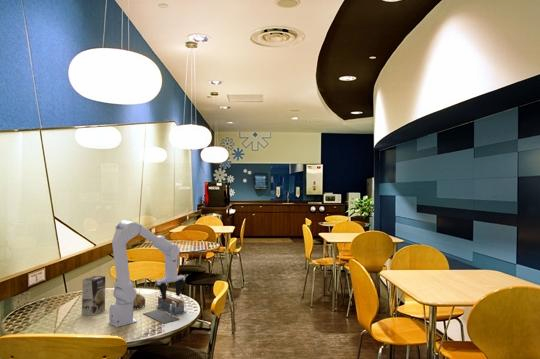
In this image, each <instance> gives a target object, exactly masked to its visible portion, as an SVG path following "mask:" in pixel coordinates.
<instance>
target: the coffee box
mask: <svg viewBox="0 0 540 359" xmlns="http://www.w3.org/2000/svg"><path fill="white" fill-rule="evenodd" d="M81 286H82V293H81V315H87V316H95V315H97V314H99V313H101V312H103V311H106V276H103V275H92V276H90V277H87V278H85V279H82V285H81Z"/></svg>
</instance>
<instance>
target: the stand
mask: <svg viewBox="0 0 540 359" xmlns="http://www.w3.org/2000/svg"><path fill="white" fill-rule="evenodd" d="M168 295H169V294H168ZM169 296H171V295H169ZM179 300H182V306H180V307H177V306H176V302H174V301H172V302H171V304H169V303H167V302H164V301H163V299H162V297H161V296H160V295H158V296H157V305H156V306H155V308H156V307H157V308H156V309H158V310H161V309H162V310H161V311H163V310H164V311H163V312H165V313H168V314H170V313H171V314H170V315H172V314H173V315H172V316H175V317H176V316H178V315H182V313H183V314H186V313H187V311H186V310H185V300H183V299H179Z"/></svg>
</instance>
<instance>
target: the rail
mask: <svg viewBox="0 0 540 359" xmlns="http://www.w3.org/2000/svg"><path fill="white" fill-rule="evenodd" d="M159 296H161V297H162V295H161V294H160V295H159ZM182 300H183V299H181V300H180V299H178V298H176V297H173V296H172V295H170V296H169V294H166V299H163V301H164V302H167V303H169V304H170V305H171V302H172V301H174V302H176V306H177V307H180V306H182Z"/></svg>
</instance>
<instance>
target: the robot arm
mask: <svg viewBox="0 0 540 359" xmlns="http://www.w3.org/2000/svg"><path fill="white" fill-rule="evenodd" d="M137 236H141V237H143V238H145V239H146V240H148V241H150V242H152V246H153V247H154V248H155V249H157V250H159V251H160V252H162V254H163V255H164V259H165V260H164V277H163V278H161V279H157V280H156V285H157V287H158V289H159V292H160V295H162V299H166V295H167V289H168V285H166V284H169V283H175V296H177V297H180V296H181V292H182V289H183V286H184V285H185V281H186V276H185V275H182V274H181V275H178V259H179V254H180V253H181V250H180V248H179V246H178V244H173V241H171V240H168V239H166V237H165V235H156V234H154V233H153V232H151V231H150V230H149V229H148V228H146V227H145V226H144V225H142V224H140V223H138V222H135V221H129V220H121V221H120V222H118V224H117V225H116V226H115V232H114V235H113V237H112V240H111V243H112V245H111V246H112V251H113V261H114V269H115V275H116V276H115V278H116V282H115V283H114V288H113V293H112V294H113V297H114V298H115V303H113V304H110V306H109V309H108V310H109V314H108V315H109V320H108V324H110V325H112V326H114V327H115V328H118V327H123V326H126V325H130V324H133V323H137V322H138V320H137V319H135V318H134V309H133V302H134V300H135V298H136V294H137V291H136V289H135V287H134V283H133V282H132V281H131V277H130V268H129V262H128V261H129V260H128V254H127V252H128V251H127V243H128V242H129V241H130V240H132V239H133V238H135V237H137Z"/></svg>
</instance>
